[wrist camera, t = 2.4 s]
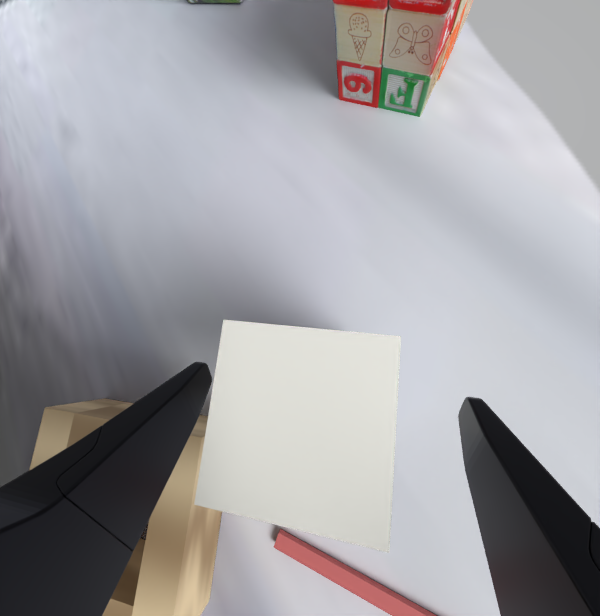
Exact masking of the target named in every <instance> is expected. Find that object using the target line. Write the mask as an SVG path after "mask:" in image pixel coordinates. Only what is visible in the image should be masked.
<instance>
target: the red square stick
mask: <svg viewBox="0 0 600 616" xmlns="http://www.w3.org/2000/svg"><path fill="white" fill-rule="evenodd" d="M274 548H276V549H277V550H279V551H281V552H283V553H284V554H286V555H288V556H290V557H291V558H293V559H295V560H297V561H298V562H300V563H302V564H304V565H305V566H307V567H309V568H310V569H312V570H314V571H316V572H317V573H319V574H321V575H323V576H324V577H326V578H328V579H330V580H331V581H333V582H335V583H336V584H338V585H340V586H342V587H343V588H345V589H347V590H349V591H350V592H352V593H354V594H356V595H357V596H359V597H361V598H362V599H364V600H366V601H368V602H369V603H371V604H373V605H375V606H376V607H378V608H380V609H382V610H383V611H385V612H387V613H388V614H390V615H392V616H437V615H435V614H433V613H431V612H429V611H428V610H426V609H424V608H422V607H420V606H419V605H417V604H415V603H413V602H411V601H410V600H408V599H406V598H404V597H402V596H401V595H399V594H397V593H395V592H393V591H392V590H390V589H388V588H386V587H384V586H383V585H381V584H379V583H377V582H375V581H374V580H372V579H370V578H368V577H366V576H365V575H363V574H361V573H359V572H357V571H356V570H354V569H352V568H350V567H348V566H347V565H345V564H343V563H341V562H339V561H338V560H336V559H334V558H332V557H330V556H329V555H327V554H325V553H323V552H321V551H320V550H318V549H316V548H314V547H312V546H311V545H309V544H307V543H305V542H303V541H302V540H300V539H298V538H296V537H294V536H293V535H291V534H289V533H287V532H285V531H284V530H282V529H280V531H279V533H278V536H277V539H276V542H275V545H274Z"/></svg>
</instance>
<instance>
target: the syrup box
mask: <svg viewBox="0 0 600 616" xmlns="http://www.w3.org/2000/svg"><path fill="white" fill-rule="evenodd" d="M187 1H188V2H189V3H241V2H242V0H187Z"/></svg>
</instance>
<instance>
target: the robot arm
mask: <svg viewBox="0 0 600 616" xmlns="http://www.w3.org/2000/svg"><path fill="white" fill-rule="evenodd" d="M211 382H212V377H211V374H210V371H209V368H208V365H207V364H206V363H203V362H195V363H193V364H192V365H190V366H189V367H187V368H186V369H184V370H183V371H181V372H180V373H178V374H177V375H175V376H174V377H172V378H171V379H169V380H168V381H166V382H165V383H163V384H162V385H160V386H159V387H158V388H156V389H155V390H153V391H152V392H150V393H149V394H147V395H146V396H144V397H143V398H141V399H140V400H138V401H137V402H135V403H134V404H132V405H131V406H129V407H128V408H126V409H125V410H124V411H122V412H121V413H119V414H118V415H116V416H115V417H113V418H112V419H110V420H109V421H107V422H106V423H104V424H103V425H102V426H100V427H98V428H97V429H95V430H94V431H92V432H91V433H89V434H88V435H86V436H85V437H83V438H82V439H80V440H79V441H77V442H76V443H74V444H72V445H71V446H69V447H68V448H66V449H64V450H63V451H61V452H59V453H58V454H56V455H55V456H53V457H51V458H49V459H48V460H46V461H44V462H43V463H41V464H39V465H38V466H36V467H34V468H33V469H31V470H29V471H28V472H26V473H24V474H23V475H21V476H19V477H17V478H16V479H14V480H12V481H11V482H9V483H7V484H5V485H4V486H2V487H0V616H102V615H103V613H104V611H105V609H106V607H107V605H108V603H109V601H110V599H111V597H112V595H113V592H114V590H115V588H116V586H117V584H118V582H119V580H120V578H121V576H122V574H123V572H124V570H125V568H126V566H127V564H128V562H129V560H130V558H131V556H132V554H133V551H134V549H135V547H136V545H137V543H138V541H139V539H140V537H141V535H142V533H143V531H144V529H145V527H146V525H147V523H148V521H149V519H150V516H151V514H152V512H153V510H154V508H155V506H156V504H157V502H158V500H159V498H160V496H161V494H162V492H163V490H164V488H165V486H166V484H167V482H168V480H169V478H170V476H171V474H172V472H173V469H174V467H175V465H176V463H177V461H178V459H179V457H180V455H181V453H182V451H183V449H184V447H185V445H186V443H187V441H188V439H189V437H190V435H191V433H192V431H193V429H194V427H195V424H196V422H197V420H198V418H199V415H200V412H201V410H202V407H203V404H204V402H205V399H206V396H207V393H208V391H209V388H210V385H211ZM458 417H459V427H460V435H461V443H462V450H463V458H464V465H465V471H466V475H467V479H468V483H469V488H470V492H471V496H472V500H473V504H474V508H475V512H476V516H477V520H478V524H479V528H480V532H481V536H482V541H483V545H484V549H485V553H486V557H487V561H488V565H489V569H490V573H491V577H492V581H493V585H494V589H495V594H496V598H497V602H498V606H499V610H500V614H501V616H600V528H599V527H598V526H597V525H596V524H595V523H594V522H591V518H590V517H589V516H588V515H587V514H586V513H585V512H584V511H583V509H582V508H581V507H580V506H579V505H578V504H577V503H576V502H575V501H574V500H573V499H572V497H571V496H570V495H569V494H568V493H567V492H566V491H565V490H564V489H563V488H562V486H561V485H560V484H559V483H558V482H557V481H556V480H555V479H554V478H553V477H552V475H551V474H550V473H549V472H548V471H547V470H546V469H545V468H544V467H543V466H542V464H541V463H540V462H539V461H538V460H537V459H536V458H535V457H534V456H533V455H532V454H531V452H530V451H529V450H528V449H527V448H526V447H525V446H524V445H523V444H522V443H521V441H520V440H519V439H518V438H517V437H516V436H515V435H514V434H513V433H512V432H511V430H510V429H509V428H508V427H507V426H506V425H505V424H504V423H503V422H502V421H501V420H500V418H499V417H498V416H497V415H496V414H495V413H494V412H493V411H492V410H491V409H490V407H489V406H488V405H487V404H486V403H485V402H484V401H483V400H482V399H480V398H473V397H466V398H465V400H464V402H463V404H462V407H461V409H460V411H459V416H458Z"/></svg>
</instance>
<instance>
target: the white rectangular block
mask: <svg viewBox="0 0 600 616" xmlns="http://www.w3.org/2000/svg"><path fill="white" fill-rule="evenodd" d="M400 346H401V336H393V335H382V334H371V333H361V332H350V331H339V330H329V329H318V328H307V327H297V326H286V325H275V324H265V323H254V322H244V321H233V320H223V325H222V332H221V338H220V344H219V351H218V357H217V363H216V370H215V376H214V382H213V389H212V395H211V401H210V408H209V414H208V420H207V427H206V433H205V439H204V446H203V452H202V458H201V465H200V471H199V477H198V484H197V490H196V496H195V502H194V505H198V506H202V507H206V508H210V509H214V510H218V511H222V512H226V513H230V514H234V515H238V516H242V517H246V518H250V519H254V520H258V521H263V522H267V523H271V524H275V525H279V526H283V527H287V528H291V529H295V530H299V531H303V532H307V533H311V534H315V535H319V536H323V537H327V538H331V539H335V540H339V541H343V542H347V543H351V544H355V545H359V546H363V547H367V548H371V549H376V550H380V551H384V552H388V553H389V547H390V529H391V511H392V492H393V474H394V456H395V437H396V419H397V401H398V382H399V364H400Z"/></svg>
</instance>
